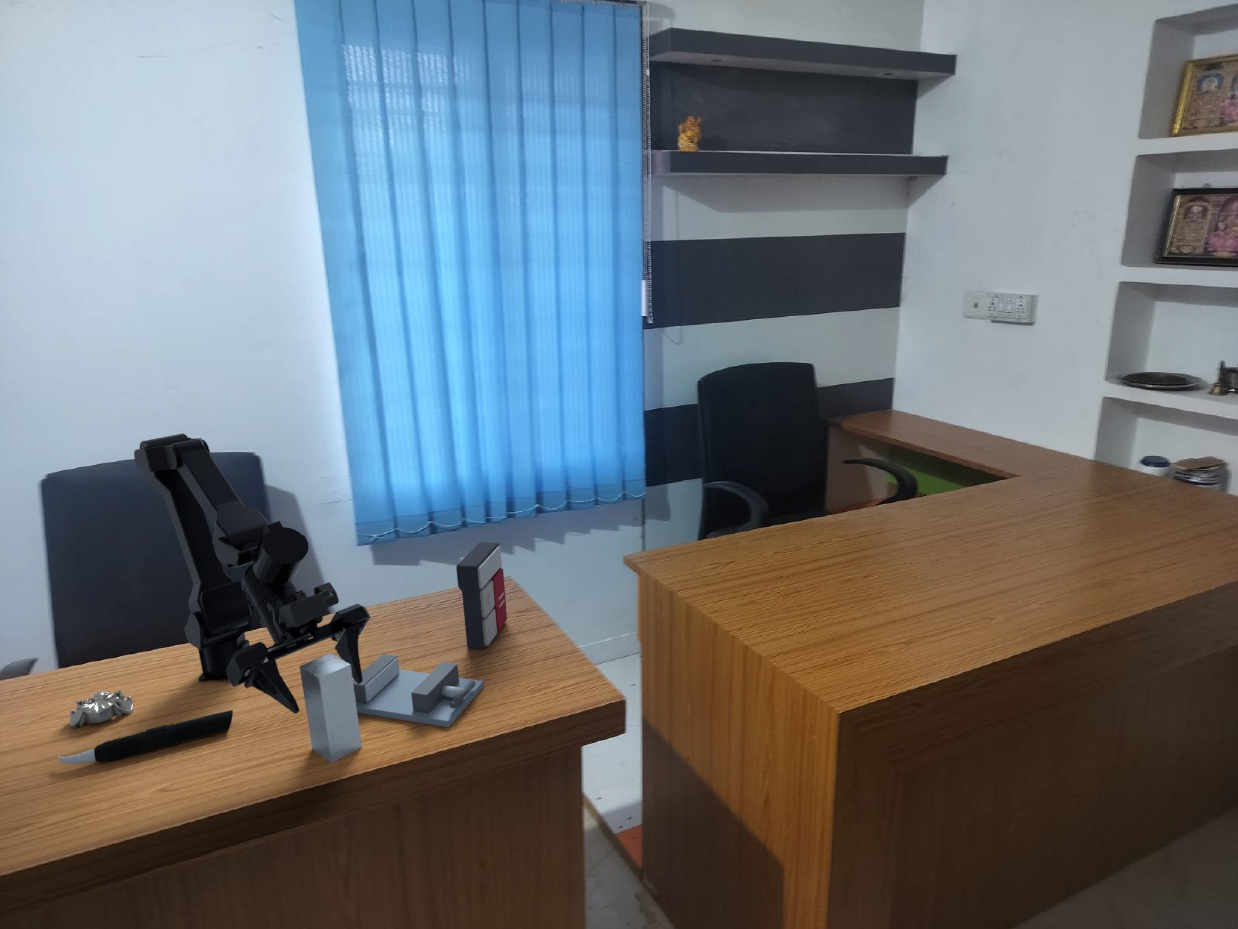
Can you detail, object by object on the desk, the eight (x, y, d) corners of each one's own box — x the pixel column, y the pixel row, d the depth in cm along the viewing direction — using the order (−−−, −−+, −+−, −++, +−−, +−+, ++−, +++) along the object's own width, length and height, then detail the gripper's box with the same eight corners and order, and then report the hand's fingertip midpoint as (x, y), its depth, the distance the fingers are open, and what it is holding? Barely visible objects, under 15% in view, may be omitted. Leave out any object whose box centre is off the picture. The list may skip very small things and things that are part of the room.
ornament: (134, 698, 127) (130, 677, 126) (133, 720, 121) (128, 698, 120) (73, 713, 123) (68, 692, 122) (68, 736, 117) (63, 714, 116)
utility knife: (56, 781, 108) (51, 761, 107) (60, 764, 111) (55, 745, 110) (236, 732, 117) (233, 714, 116) (234, 718, 120) (231, 700, 119)
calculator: (488, 651, 137) (480, 567, 133) (463, 649, 138) (455, 565, 134) (509, 621, 147) (503, 542, 143) (486, 619, 148) (480, 541, 144)
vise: (338, 709, 121) (335, 685, 120) (381, 672, 131) (378, 649, 130) (449, 727, 116) (446, 702, 115) (484, 687, 126) (482, 663, 125)
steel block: (331, 763, 109) (319, 678, 105) (312, 749, 112) (299, 666, 109) (361, 747, 112) (350, 664, 109) (342, 733, 115) (330, 653, 112)
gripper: (220, 594, 102) (277, 703, 98) (354, 549, 115) (409, 643, 111) (204, 635, 109) (256, 738, 105) (332, 588, 123) (383, 677, 118)
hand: (330, 697), depth 110 cm, fingers open, 9 cm apart
